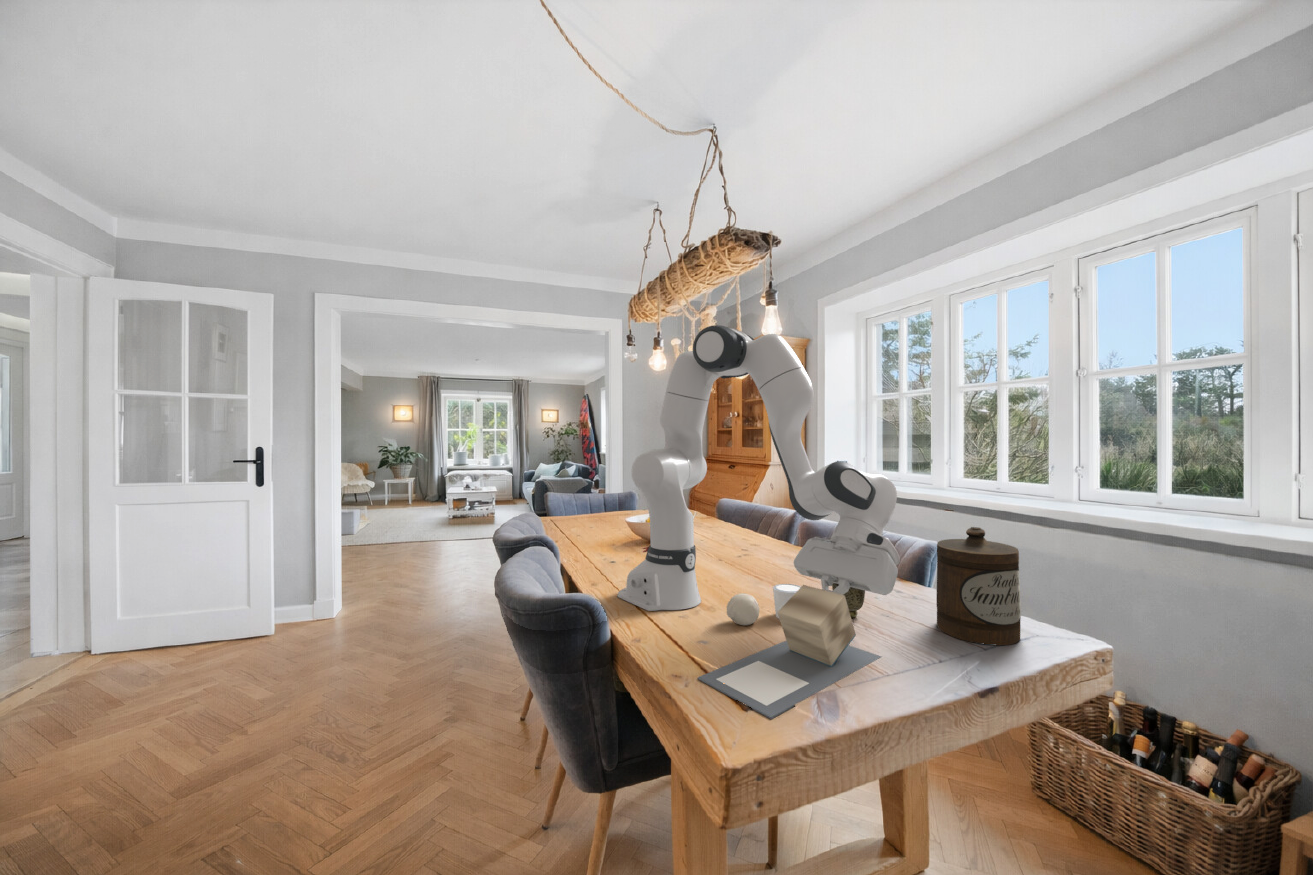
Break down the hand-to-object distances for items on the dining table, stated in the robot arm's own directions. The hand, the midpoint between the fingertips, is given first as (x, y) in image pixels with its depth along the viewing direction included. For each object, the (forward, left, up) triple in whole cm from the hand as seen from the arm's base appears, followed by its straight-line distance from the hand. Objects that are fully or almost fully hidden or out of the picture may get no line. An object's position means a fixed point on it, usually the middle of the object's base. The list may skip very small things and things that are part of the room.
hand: (827, 600), depth 97 cm
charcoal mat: (-2, -11, -10) cm, 15 cm away
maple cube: (0, -2, -8) cm, 8 cm away
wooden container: (+20, +29, -10) cm, 37 cm away
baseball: (-20, +1, -10) cm, 23 cm away
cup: (-4, +21, -10) cm, 24 cm away
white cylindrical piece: (-14, +11, -10) cm, 21 cm away
